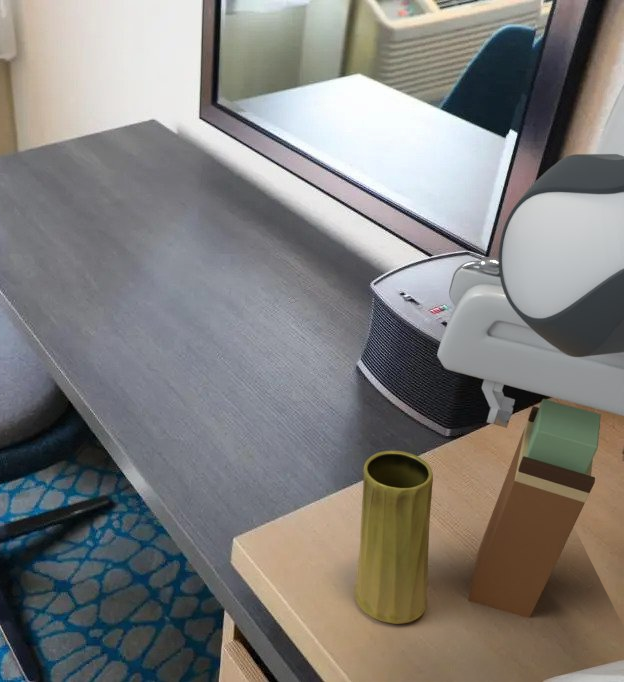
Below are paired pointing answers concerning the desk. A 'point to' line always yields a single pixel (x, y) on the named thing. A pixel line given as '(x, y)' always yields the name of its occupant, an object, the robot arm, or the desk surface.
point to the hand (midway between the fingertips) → (563, 439)
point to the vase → (394, 537)
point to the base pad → (527, 530)
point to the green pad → (564, 436)
